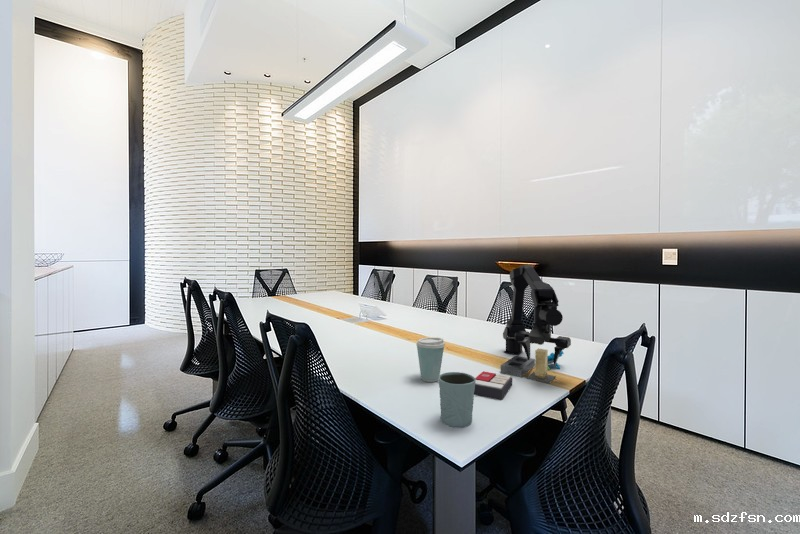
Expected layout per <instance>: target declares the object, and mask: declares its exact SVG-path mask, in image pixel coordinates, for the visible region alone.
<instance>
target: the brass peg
mask: <svg viewBox="0 0 800 534" xmlns="http://www.w3.org/2000/svg"><path fill="white" fill-rule="evenodd" d="M548 351H549V350H548V349H544V348H536V349H535V353H534V355H535V357H534V359H535V367H534V372H535V377H537V378H541V379H545V378H546V377H547V375H548V369H547V365H548V364H547V358H548V356H549V355H548Z"/></svg>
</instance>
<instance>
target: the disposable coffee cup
mask: <svg viewBox="0 0 800 534" xmlns="http://www.w3.org/2000/svg"><path fill="white" fill-rule="evenodd" d="M445 344H446V343H445V341H444V338H443V337H438V336H437V337H435V336H434V337H433V336H432V337H431V336H430V337H423V338H419V339H418V340H417V341H416V348H417V357H418V364H419V365H418V366H419V372H420V378H421V380H422V381H423V382H427V383H428V382H429V383H431V382H432V383H433V382H437V381H438V382H439V376H440V375H441V368H442V363H443V355H444V348H445V346H446V345H445Z"/></svg>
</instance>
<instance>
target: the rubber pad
mask: <svg viewBox="0 0 800 534" xmlns="http://www.w3.org/2000/svg"><path fill="white" fill-rule="evenodd" d="M556 377H557V376H556V375H552V374H547V377H546V378H545V379H541V378H537V377H535V371H533V372H532V373H530V374H529V375H528V376H526V379H527V380H531V381H535V380H536V381H535V382H541V383H546V384H550V382H553V380H554V379H556Z"/></svg>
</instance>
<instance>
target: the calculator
mask: <svg viewBox="0 0 800 534" xmlns="http://www.w3.org/2000/svg"><path fill="white" fill-rule="evenodd" d="M474 378H475V379H476V382H475V390H474V396H479V397H484V398H489V399H494V400H499V401H503V400H504V398H505V397H506V395H507V393H508V392H509V391H510V389H511V388H512V386H513V376H512V375H508V374H503V373H497V374H496V373H493V372H491V371H490V372H489V371H482V372H481V373H479V374H478V375H477V376H476V377H474ZM508 390H509V391H508Z"/></svg>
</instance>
